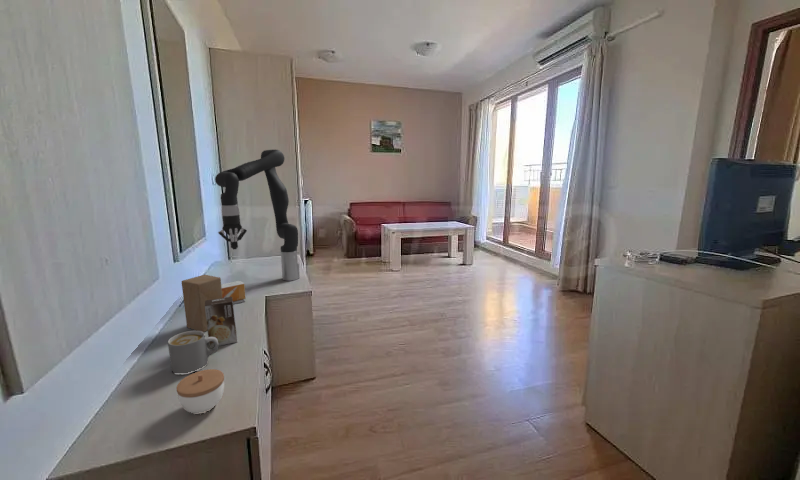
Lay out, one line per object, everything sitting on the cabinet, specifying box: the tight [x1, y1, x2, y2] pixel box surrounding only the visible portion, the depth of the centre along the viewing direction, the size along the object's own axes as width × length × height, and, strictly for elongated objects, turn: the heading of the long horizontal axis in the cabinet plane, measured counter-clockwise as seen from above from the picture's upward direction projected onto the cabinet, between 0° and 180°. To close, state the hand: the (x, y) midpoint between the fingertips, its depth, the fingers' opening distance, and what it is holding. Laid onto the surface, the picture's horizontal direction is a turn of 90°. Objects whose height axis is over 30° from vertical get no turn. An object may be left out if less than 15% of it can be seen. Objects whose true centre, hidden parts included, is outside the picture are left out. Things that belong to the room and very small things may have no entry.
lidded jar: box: [176, 368, 225, 414], centre depth 87 cm, size 11×11×9 cm
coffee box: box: [205, 297, 238, 348], centre depth 121 cm, size 9×6×16 cm
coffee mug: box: [167, 330, 220, 373], centre depth 106 cm, size 13×10×10 cm
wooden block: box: [181, 274, 222, 333], centre depth 133 cm, size 10×10×20 cm
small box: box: [221, 280, 246, 302], centre depth 161 cm, size 8×6×13 cm
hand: (234, 249), depth 162 cm, fingers closed
